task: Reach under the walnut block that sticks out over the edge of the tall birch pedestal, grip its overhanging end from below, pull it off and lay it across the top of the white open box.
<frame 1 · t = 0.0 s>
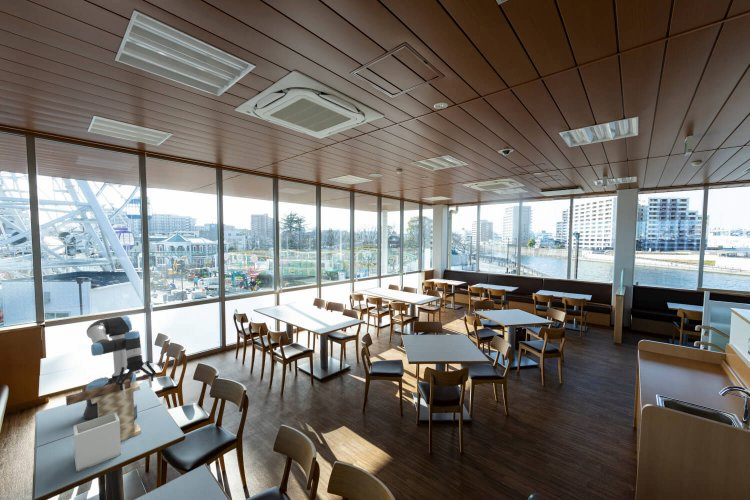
hand: (137, 391, 188), 28 cm above the table, tool tilted 20°, fingers open, 12 cm apart
candy box: (125, 394, 239), on the table
white open box: (98, 457, 171), on the table
walnut block: (100, 394, 181), point 30 cm above the table, touching birch pedestal
flask: (132, 421, 205), on the table
birch pedestal: (117, 438, 187), on the table
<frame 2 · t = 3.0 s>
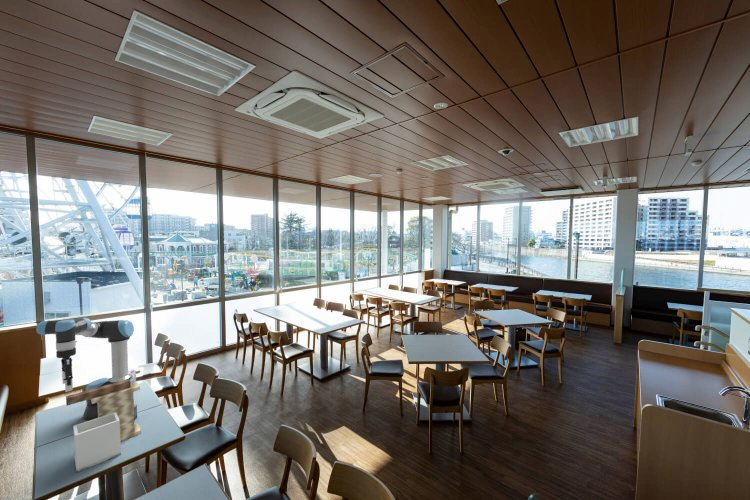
hand: (67, 386, 168), 41 cm above the table, tool pointing down, fingers open, 13 cm apart
nothing on the table moved.
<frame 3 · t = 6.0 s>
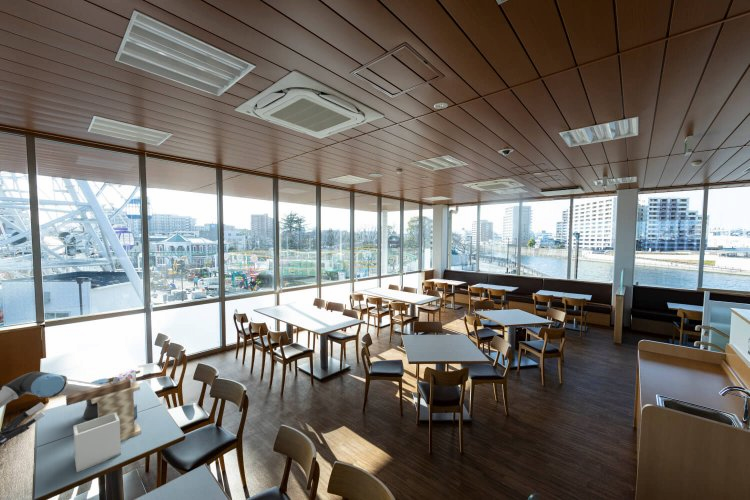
hand: (43, 408, 164), 31 cm above the table, tool pointing upward, fingers open, 13 cm apart
nothing on the table moved.
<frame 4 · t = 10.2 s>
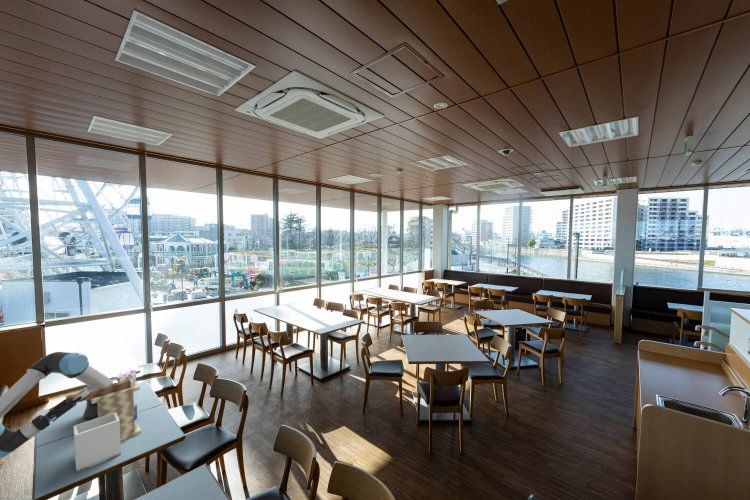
hand: (87, 390, 176), 35 cm above the table, tool pointing upward, fingers closed on walnut block, 4 cm apart
walnut block: (100, 394, 181), point 30 cm above the table, touching birch pedestal, gripper
everything else where it was.
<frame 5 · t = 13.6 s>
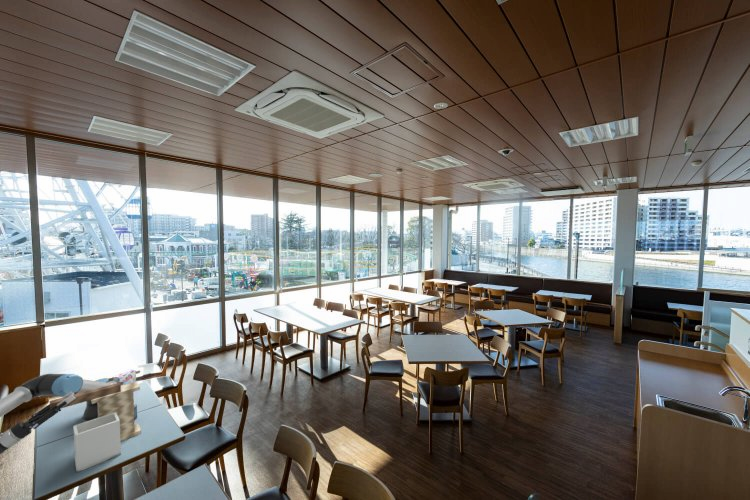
hand: (73, 394, 163), 39 cm above the table, tool pointing upward, fingers closed on walnut block, 4 cm apart
walnut block: (87, 399, 167), point 34 cm above the table, touching gripper
everything else where it was.
when the fingers open (26 cm above the table, at t = 17.0 s): walnut block drops 1 cm, resting on white open box.
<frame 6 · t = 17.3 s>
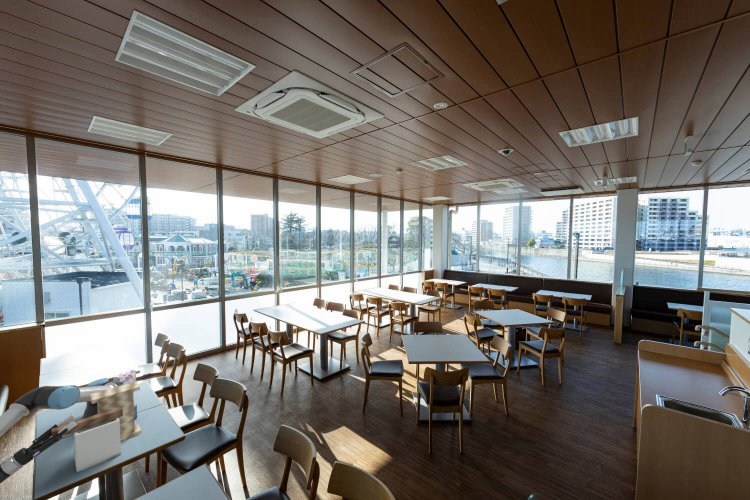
hand: (74, 419, 163), 26 cm above the table, tool pointing upward, fingers open, 8 cm apart
walnut block: (89, 425, 167), point 20 cm above the table, touching white open box
everything else where it was.
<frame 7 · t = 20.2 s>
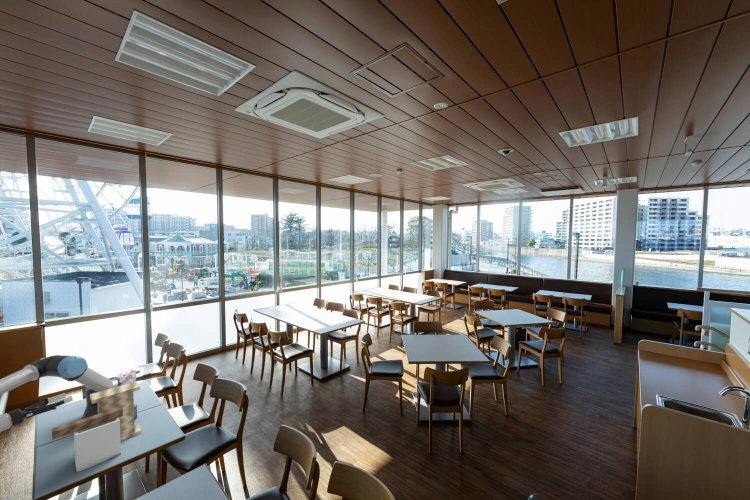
hand: (68, 396, 169), 35 cm above the table, tool horizontal, fingers open, 13 cm apart
nothing on the table moved.
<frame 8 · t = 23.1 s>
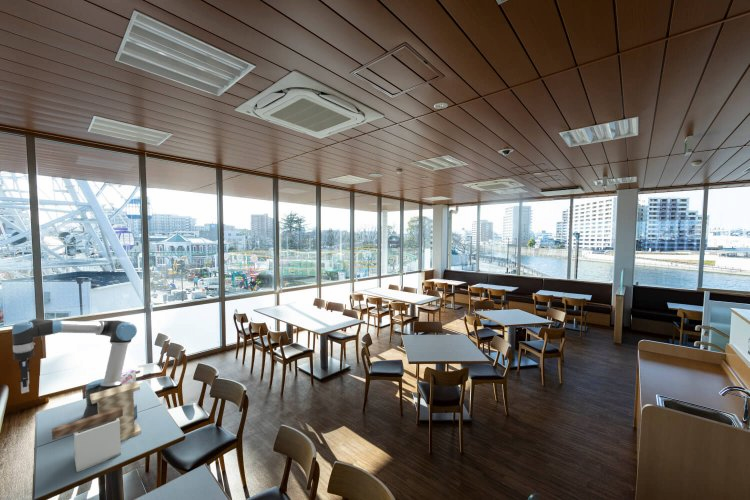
hand: (25, 388, 170), 39 cm above the table, tool pointing down, fingers open, 13 cm apart
nothing on the table moved.
at the end: walnut block inside the target area on the white open box (3.0 cm from its centre), point 20.0 cm above the white open box's base; the gripper is holding nothing; walnut block touching white open box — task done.
